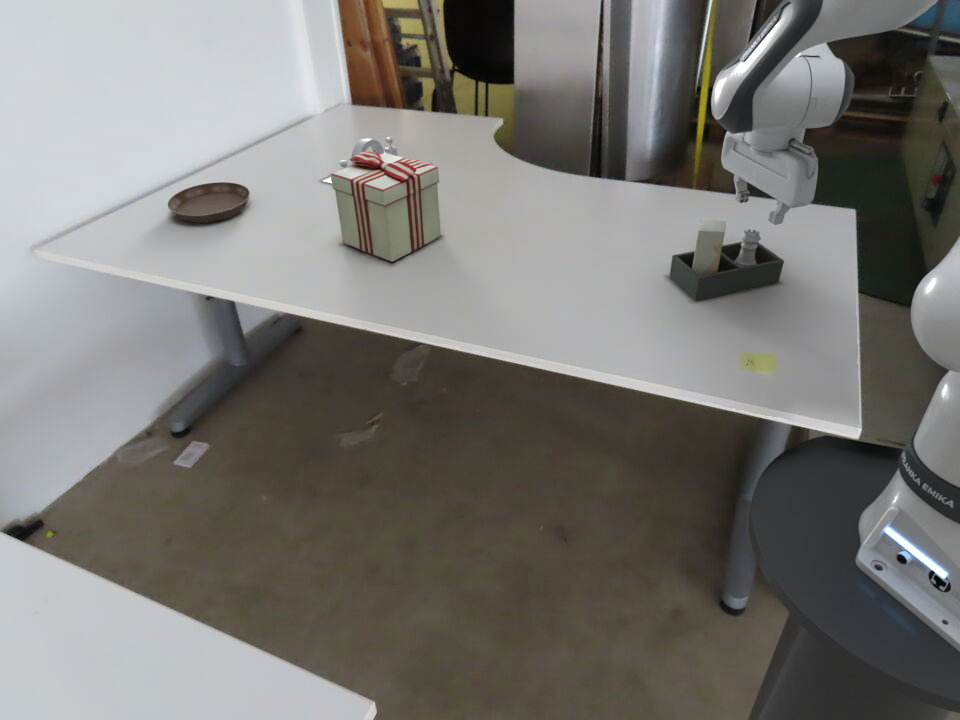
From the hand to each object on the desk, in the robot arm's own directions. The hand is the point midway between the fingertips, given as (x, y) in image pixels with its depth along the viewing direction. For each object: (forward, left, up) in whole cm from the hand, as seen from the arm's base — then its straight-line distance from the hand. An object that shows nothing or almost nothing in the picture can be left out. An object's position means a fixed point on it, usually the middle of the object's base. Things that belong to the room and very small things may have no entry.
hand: (757, 211), depth 119 cm
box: (0, +8, -12) cm, 15 cm away
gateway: (+76, +54, -13) cm, 94 cm away
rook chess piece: (0, 0, -12) cm, 12 cm away
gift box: (+39, +56, -13) cm, 70 cm away
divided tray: (0, +4, -13) cm, 13 cm away
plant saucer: (+68, +92, -13) cm, 115 cm away
